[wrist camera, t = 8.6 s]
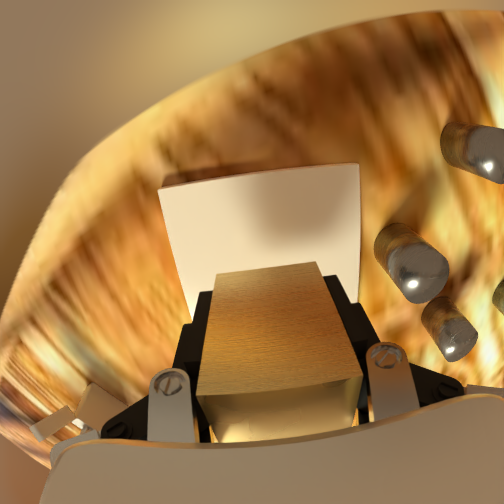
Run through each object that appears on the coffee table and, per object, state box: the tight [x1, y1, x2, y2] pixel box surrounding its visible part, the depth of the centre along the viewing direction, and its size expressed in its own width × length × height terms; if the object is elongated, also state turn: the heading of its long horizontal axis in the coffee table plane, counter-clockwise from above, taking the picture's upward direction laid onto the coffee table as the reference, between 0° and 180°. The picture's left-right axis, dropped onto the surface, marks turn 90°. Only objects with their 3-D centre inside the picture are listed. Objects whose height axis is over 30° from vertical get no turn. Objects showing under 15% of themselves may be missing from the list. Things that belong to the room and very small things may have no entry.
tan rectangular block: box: [196, 261, 363, 443], centre depth 10 cm, size 4×4×6 cm
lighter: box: [29, 383, 128, 442], centre depth 18 cm, size 7×2×8 cm, turn 41°
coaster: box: [158, 163, 360, 321], centre depth 16 cm, size 10×10×1 cm
